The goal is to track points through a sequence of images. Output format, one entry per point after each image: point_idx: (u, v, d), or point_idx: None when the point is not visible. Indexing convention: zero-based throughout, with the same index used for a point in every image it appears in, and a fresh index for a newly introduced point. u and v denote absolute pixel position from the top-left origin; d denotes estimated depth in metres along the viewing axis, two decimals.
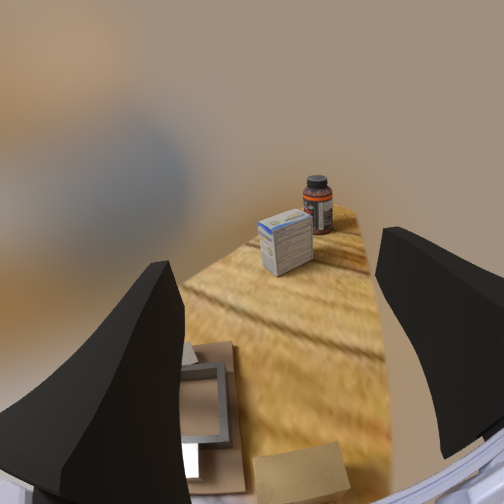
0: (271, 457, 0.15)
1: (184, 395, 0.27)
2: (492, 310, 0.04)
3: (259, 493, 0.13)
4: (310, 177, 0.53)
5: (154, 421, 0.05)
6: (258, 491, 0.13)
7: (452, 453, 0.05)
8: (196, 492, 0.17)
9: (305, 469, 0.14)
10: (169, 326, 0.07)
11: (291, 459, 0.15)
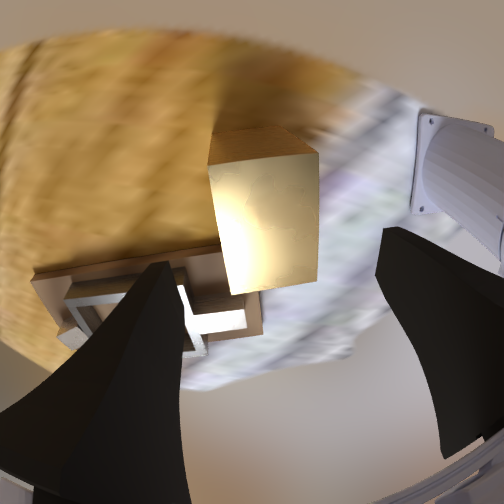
0: (231, 271, 0.12)
1: None
2: (492, 310, 0.04)
3: (294, 282, 0.13)
4: None
5: (154, 421, 0.05)
6: (291, 283, 0.13)
7: (452, 453, 0.05)
8: (257, 295, 0.21)
9: (261, 223, 0.11)
10: (169, 326, 0.07)
11: (236, 243, 0.11)
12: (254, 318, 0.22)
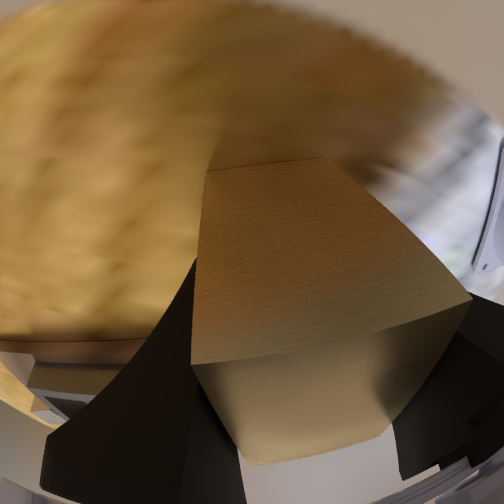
0: (250, 456, 0.06)
1: None
2: None
3: (348, 445, 0.06)
4: None
5: None
6: (342, 447, 0.06)
7: (409, 476, 0.05)
8: None
9: (316, 420, 0.04)
10: None
11: (264, 441, 0.05)
12: None
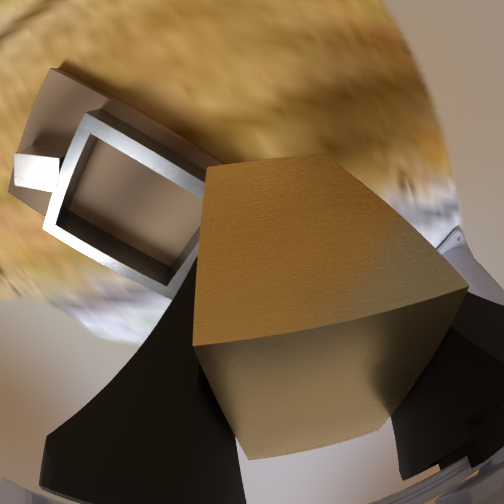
0: (250, 449, 0.06)
1: (102, 200, 0.15)
2: None
3: (347, 439, 0.06)
4: None
5: (222, 418, 0.05)
6: (341, 440, 0.06)
7: (409, 476, 0.05)
8: None
9: (316, 409, 0.05)
10: None
11: (263, 431, 0.05)
12: None
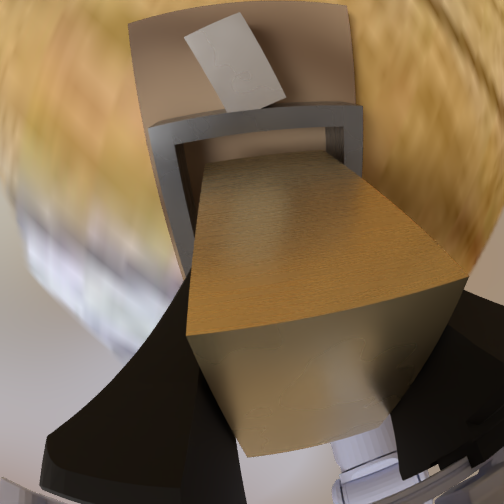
0: (248, 445, 0.06)
1: None
2: (445, 332, 0.04)
3: (347, 436, 0.06)
4: None
5: (222, 418, 0.05)
6: (341, 438, 0.06)
7: (409, 476, 0.05)
8: None
9: (314, 405, 0.05)
10: None
11: (261, 427, 0.05)
12: None
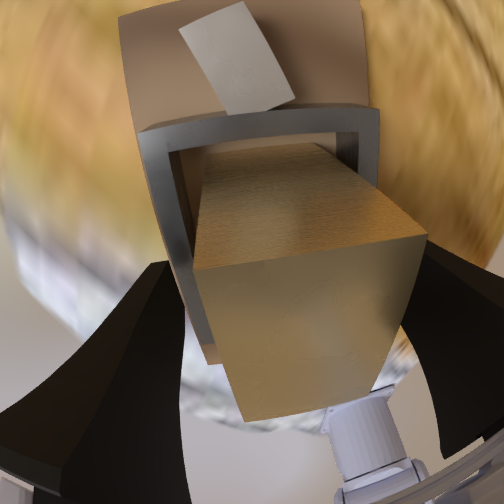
0: (245, 405, 0.07)
1: None
2: (492, 310, 0.04)
3: (338, 402, 0.07)
4: None
5: (154, 421, 0.05)
6: (333, 404, 0.07)
7: (452, 453, 0.05)
8: None
9: (302, 354, 0.06)
10: (169, 326, 0.07)
11: (255, 380, 0.06)
12: None
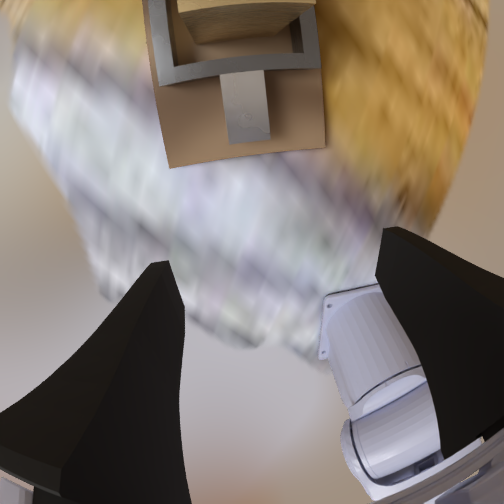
0: None
1: None
2: (492, 310, 0.04)
3: None
4: None
5: (154, 421, 0.05)
6: None
7: (452, 453, 0.05)
8: (251, 153, 0.15)
9: None
10: (169, 326, 0.07)
11: None
12: (206, 152, 0.15)
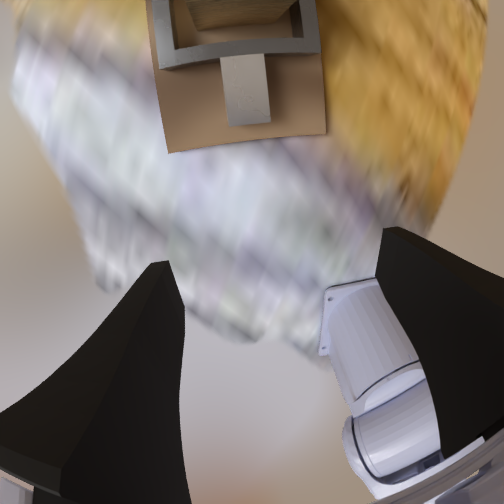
0: None
1: None
2: (492, 310, 0.04)
3: None
4: None
5: (154, 421, 0.05)
6: None
7: (452, 453, 0.05)
8: (251, 138, 0.15)
9: None
10: (169, 326, 0.07)
11: None
12: (205, 136, 0.14)
